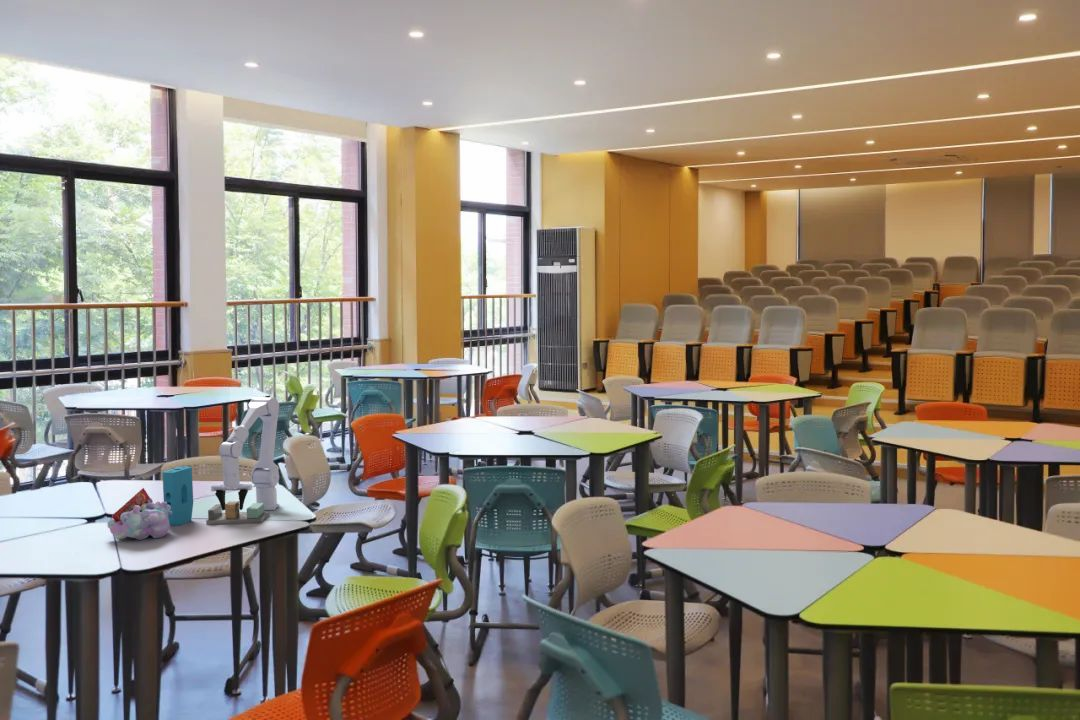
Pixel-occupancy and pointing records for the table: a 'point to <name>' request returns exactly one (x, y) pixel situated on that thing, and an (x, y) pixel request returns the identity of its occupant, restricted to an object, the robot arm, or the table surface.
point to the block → (178, 494)
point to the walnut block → (232, 509)
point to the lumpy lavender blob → (140, 518)
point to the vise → (219, 518)
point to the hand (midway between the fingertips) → (232, 509)
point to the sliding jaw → (255, 510)
